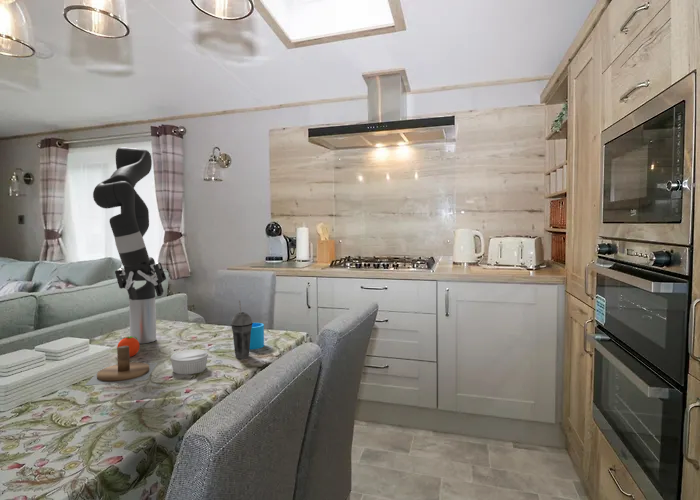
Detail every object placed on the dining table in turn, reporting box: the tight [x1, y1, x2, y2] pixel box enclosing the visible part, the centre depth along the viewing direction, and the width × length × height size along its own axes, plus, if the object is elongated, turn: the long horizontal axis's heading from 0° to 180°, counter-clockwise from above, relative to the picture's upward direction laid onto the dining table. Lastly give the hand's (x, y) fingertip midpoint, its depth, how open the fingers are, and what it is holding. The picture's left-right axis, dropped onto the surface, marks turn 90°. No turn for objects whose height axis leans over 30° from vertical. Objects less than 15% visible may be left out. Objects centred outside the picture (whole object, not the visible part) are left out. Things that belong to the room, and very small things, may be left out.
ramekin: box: [170, 348, 209, 375], centre depth 128 cm, size 11×11×5 cm
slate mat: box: [84, 362, 158, 387], centre depth 125 cm, size 16×16×1 cm
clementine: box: [116, 336, 141, 357], centre depth 142 cm, size 8×7×7 cm
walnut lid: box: [96, 346, 149, 382], centre depth 124 cm, size 14×14×8 cm
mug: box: [250, 322, 265, 350], centre depth 156 cm, size 12×8×8 cm
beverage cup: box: [230, 299, 254, 360], centre depth 142 cm, size 7×7×20 cm
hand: (147, 297), depth 128 cm, fingers open, 8 cm apart
